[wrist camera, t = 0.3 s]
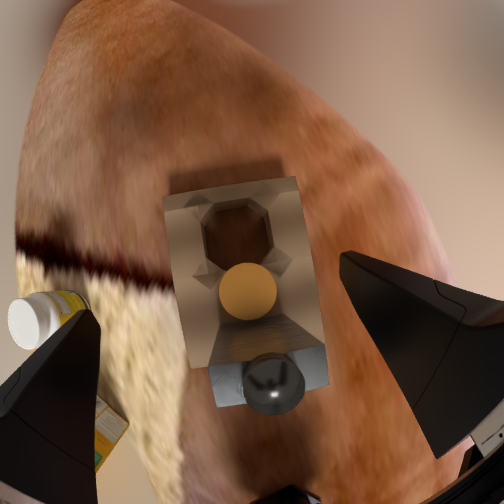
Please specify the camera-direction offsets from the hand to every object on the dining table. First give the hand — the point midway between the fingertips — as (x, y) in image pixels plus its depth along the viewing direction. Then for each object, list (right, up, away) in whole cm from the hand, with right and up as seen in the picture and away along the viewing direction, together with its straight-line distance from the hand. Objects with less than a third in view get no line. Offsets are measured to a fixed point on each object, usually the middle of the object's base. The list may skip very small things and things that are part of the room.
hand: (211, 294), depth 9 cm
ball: (+1, -1, +10) cm, 10 cm away
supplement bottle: (-16, -5, +14) cm, 22 cm away
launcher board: (0, 0, +15) cm, 15 cm away
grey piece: (+1, -5, +12) cm, 13 cm away
